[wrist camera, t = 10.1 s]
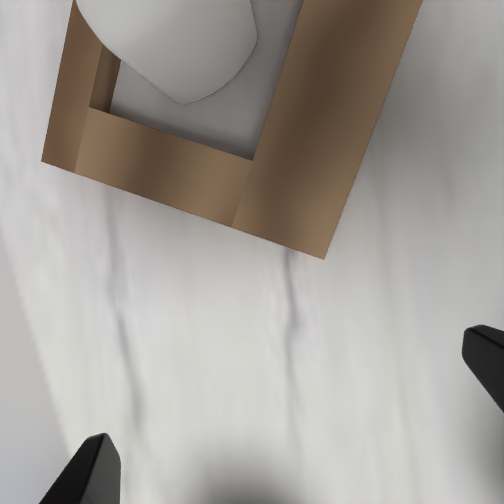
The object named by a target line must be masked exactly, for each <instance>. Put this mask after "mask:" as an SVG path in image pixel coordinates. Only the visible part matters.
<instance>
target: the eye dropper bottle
mask: <svg viewBox="0 0 504 504" xmlns="http://www.w3.org/2000/svg"><path fill="white" fill-rule="evenodd" d="M76 2H77V5H78V8H79V11H80V12H81V14H82V16H83V17H84V19H85V20H86V22H87V23H88V25H89V26H90V28H91V29H92V30H93V32H94V33H95V34H96V36H97V37H98V38H99V40H100V41H101V42H102V43H103V44H104V45H105V46H106V47H107V48H108V49H109V50H110V51H111V52H113V53H114V54H115V55H116V56H117V57H119V58H120V59H121V60H122V61H123V62H125V63H126V64H127V65H128V66H130V67H131V68H132V69H133V70H135V71H136V72H137V73H138V74H140V75H141V76H142V77H144V78H145V79H146V80H147V81H149V82H150V83H151V84H152V85H154V86H155V87H156V88H158V89H159V90H160V91H161V92H163V93H164V94H165V95H166V96H168V97H169V98H170V99H172V100H173V101H174V102H176V103H178V104H187V103H192V102H195V101H198V100H200V99H203V98H205V97H207V96H209V95H211V94H213V93H214V92H216V91H218V90H219V89H220V88H222V87H223V86H224V85H226V84H227V83H228V82H229V81H230V80H231V79H232V78H233V77H234V76H235V75H236V74H237V73H238V72H239V71H240V69H241V68H242V67H243V65H244V64H245V63H246V61H247V60H248V58H249V57H250V55H251V53H252V51H253V49H254V47H255V45H256V42H257V37H258V32H257V28H256V24H255V20H254V16H253V12H252V8H251V4H250V0H76Z"/></svg>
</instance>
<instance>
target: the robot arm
mask: <svg viewBox="0 0 504 504" xmlns="http://www.w3.org/2000/svg"><path fill="white" fill-rule="evenodd" d="M462 357H463V359H464V361H465V363H466V364H467V366H468V367H469V368H470V370H471V371H472V372H473V374H474V375H475V376H476V377H477V379H478V380H479V381H480V383H481V384H482V385H483V387H484V388H485V389H486V391H487V392H488V393H489V395H490V396H491V397H492V398H493V400H494V401H495V402H496V404H497V405H498V406H499V408H500V409H501V410H502V411H503V413H504V331H501V330H498V329H495V328H492V327H489V326H486V325H476V326H473V327H469V328H467V329H466V330H465V331H464V337H463V346H462ZM120 477H121V461H120V457H119V454H118V452H117V450H116V448H115V446H114V444H113V442H112V440H111V438H110V436H109V435H108V434H107V433H101V434H98V435H94V436H91V437H89V438H87V439H86V440H85V441H84V442H83V444H82V445H81V447H80V448H79V449H78V451H77V452H76V453H75V455H74V456H73V457H72V459H71V460H70V462H69V463H68V464H67V466H66V467H65V468H64V470H63V471H62V473H61V474H60V476H59V477H58V478H57V479H56V481H55V482H54V484H53V485H52V486H51V488H50V489H49V490H48V492H47V493H46V495H45V496H44V498H43V499H42V500H41V501H40V503H39V504H120Z"/></svg>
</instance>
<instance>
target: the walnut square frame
mask: <svg viewBox="0 0 504 504" xmlns="http://www.w3.org/2000/svg"><path fill="white" fill-rule="evenodd" d="M422 1H423V0H304V1H303V4H302V7H301V11H300V14H299V17H298V20H297V23H296V26H295V29H294V33H293V36H292V39H291V42H290V45H289V48H288V51H287V55H286V58H285V61H284V64H283V67H282V70H281V73H280V77H279V80H278V83H277V86H276V89H275V92H274V95H273V99H272V102H271V105H270V108H269V111H268V114H267V117H266V121H265V124H264V127H263V130H262V133H261V136H260V139H259V143H258V146H257V149H256V152H255V155H254V158H253V161H251V160H248V159H245V158H242V157H239V156H236V155H233V154H230V153H227V152H224V151H221V150H218V149H215V148H212V147H209V146H206V145H203V144H199V143H196V142H193V141H190V140H187V139H184V138H181V137H178V136H175V135H172V134H169V133H166V132H163V131H160V130H157V129H154V128H151V127H148V126H145V125H142V124H139V123H136V122H133V121H130V120H127V119H124V118H121V117H118V116H115V115H112V114H109V108H110V104H111V100H112V95H113V91H114V87H115V82H116V78H117V74H118V69H119V65H120V61H121V59H120V58H119V57H117V56H116V55H115V54H114V53H113V52H111V51H110V50H109V49H108V48H107V47H106V46H105V45H104V44H103V43H102V42H101V41H100V40H99V38H98V37H97V36H96V34H95V33H94V32H93V30H92V29H91V28H90V26H89V25H88V23H87V22H86V20H85V19H84V17H83V16H82V14H81V12H80V11H79V8H78V5H77V2H76V0H73V3H72V8H71V13H70V18H69V23H68V28H67V33H66V38H65V43H64V49H63V54H62V59H61V64H60V69H59V74H58V79H57V84H56V89H55V94H54V99H53V104H52V109H51V114H50V119H49V124H48V129H47V134H46V139H45V144H44V149H43V154H42V159H41V162H44V163H47V164H50V165H53V166H56V167H59V168H61V169H64V170H67V171H70V172H73V173H76V174H79V175H82V176H84V177H87V178H90V179H93V180H96V181H99V182H102V183H105V184H107V185H110V186H113V187H116V188H119V189H122V190H125V191H128V192H130V193H133V194H136V195H139V196H142V197H145V198H148V199H151V200H153V201H156V202H159V203H162V204H165V205H168V206H171V207H174V208H177V209H179V210H182V211H185V212H188V213H191V214H194V215H197V216H200V217H202V218H205V219H208V220H211V221H214V222H217V223H220V224H223V225H225V226H228V227H231V228H234V229H237V230H240V231H243V232H246V233H248V234H251V235H254V236H257V237H260V238H263V239H266V240H269V241H271V242H274V243H277V244H280V245H283V246H286V247H289V248H292V249H294V250H297V251H300V252H303V253H306V254H309V255H312V256H315V257H318V258H320V259H323V260H324V259H325V256H326V253H327V251H328V248H329V246H330V243H331V240H332V238H333V235H334V232H335V230H336V227H337V225H338V222H339V219H340V217H341V214H342V211H343V209H344V206H345V203H346V201H347V198H348V196H349V193H350V190H351V188H352V185H353V182H354V180H355V177H356V175H357V172H358V169H359V167H360V164H361V161H362V159H363V156H364V153H365V151H366V148H367V146H368V143H369V140H370V138H371V135H372V132H373V130H374V127H375V125H376V122H377V119H378V117H379V114H380V111H381V109H382V106H383V103H384V101H385V98H386V96H387V93H388V90H389V88H390V85H391V82H392V80H393V77H394V74H395V72H396V69H397V67H398V64H399V61H400V59H401V56H402V53H403V51H404V48H405V46H406V43H407V40H408V38H409V35H410V32H411V30H412V27H413V24H414V22H415V19H416V17H417V14H418V11H419V9H420V6H421V3H422Z"/></svg>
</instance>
